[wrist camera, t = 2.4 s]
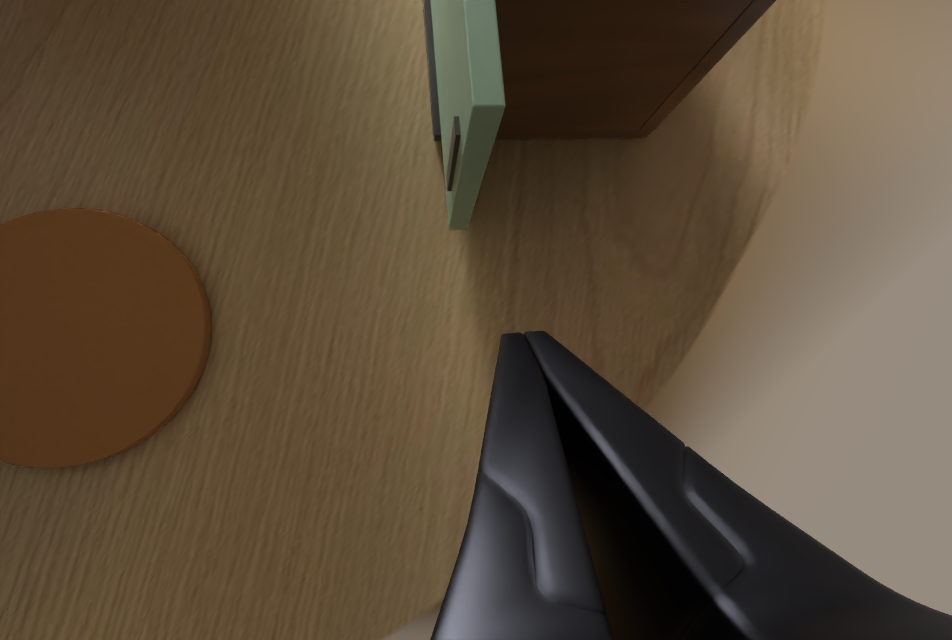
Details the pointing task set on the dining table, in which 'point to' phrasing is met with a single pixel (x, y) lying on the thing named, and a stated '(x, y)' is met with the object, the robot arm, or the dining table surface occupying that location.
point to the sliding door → (467, 97)
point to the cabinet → (602, 62)
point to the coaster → (93, 336)
